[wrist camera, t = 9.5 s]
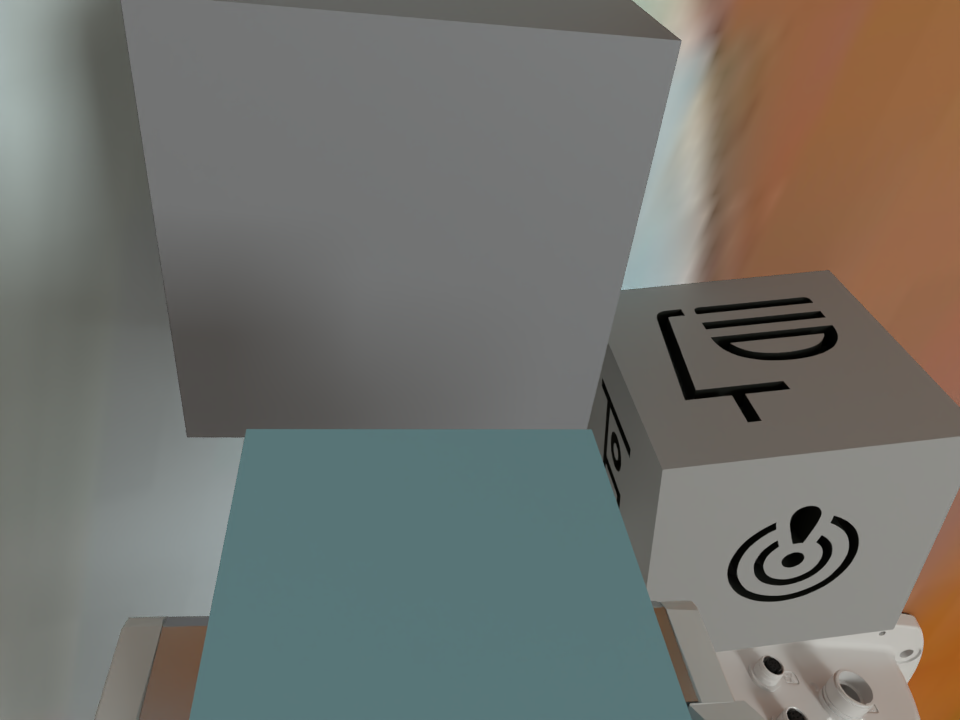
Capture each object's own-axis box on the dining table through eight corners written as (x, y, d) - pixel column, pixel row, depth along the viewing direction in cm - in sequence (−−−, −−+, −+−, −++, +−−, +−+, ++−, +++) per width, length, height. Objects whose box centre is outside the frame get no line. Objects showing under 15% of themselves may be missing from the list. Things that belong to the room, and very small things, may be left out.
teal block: (592, 429, 12) (707, 766, 8) (543, 632, 14) (608, 952, 10) (246, 429, 11) (173, 802, 7) (267, 642, 14) (225, 992, 10)
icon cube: (587, 293, 31) (662, 469, 23) (828, 270, 32) (984, 433, 24) (578, 472, 37) (636, 662, 29) (782, 450, 38) (893, 629, 30)
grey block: (598, -27, 24) (681, 40, 18) (540, 304, 31) (584, 438, 24) (192, -67, 22) (119, -8, 16) (227, 294, 29) (187, 436, 23)
